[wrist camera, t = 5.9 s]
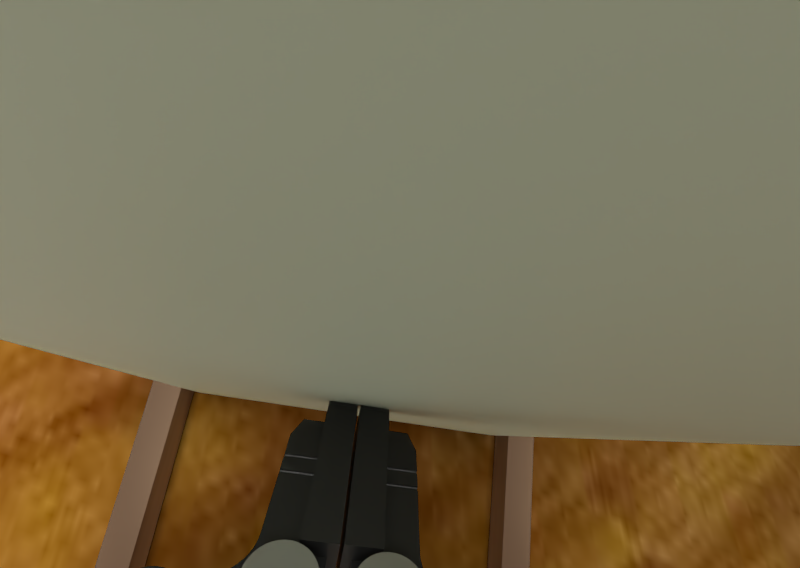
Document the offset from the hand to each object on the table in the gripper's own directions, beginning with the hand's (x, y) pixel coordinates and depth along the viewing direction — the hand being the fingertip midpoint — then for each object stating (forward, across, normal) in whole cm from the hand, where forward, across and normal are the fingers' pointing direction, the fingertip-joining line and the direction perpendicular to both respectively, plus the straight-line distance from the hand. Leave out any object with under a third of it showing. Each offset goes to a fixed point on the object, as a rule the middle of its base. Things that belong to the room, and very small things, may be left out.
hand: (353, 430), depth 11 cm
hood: (+9, 0, +1) cm, 9 cm away
